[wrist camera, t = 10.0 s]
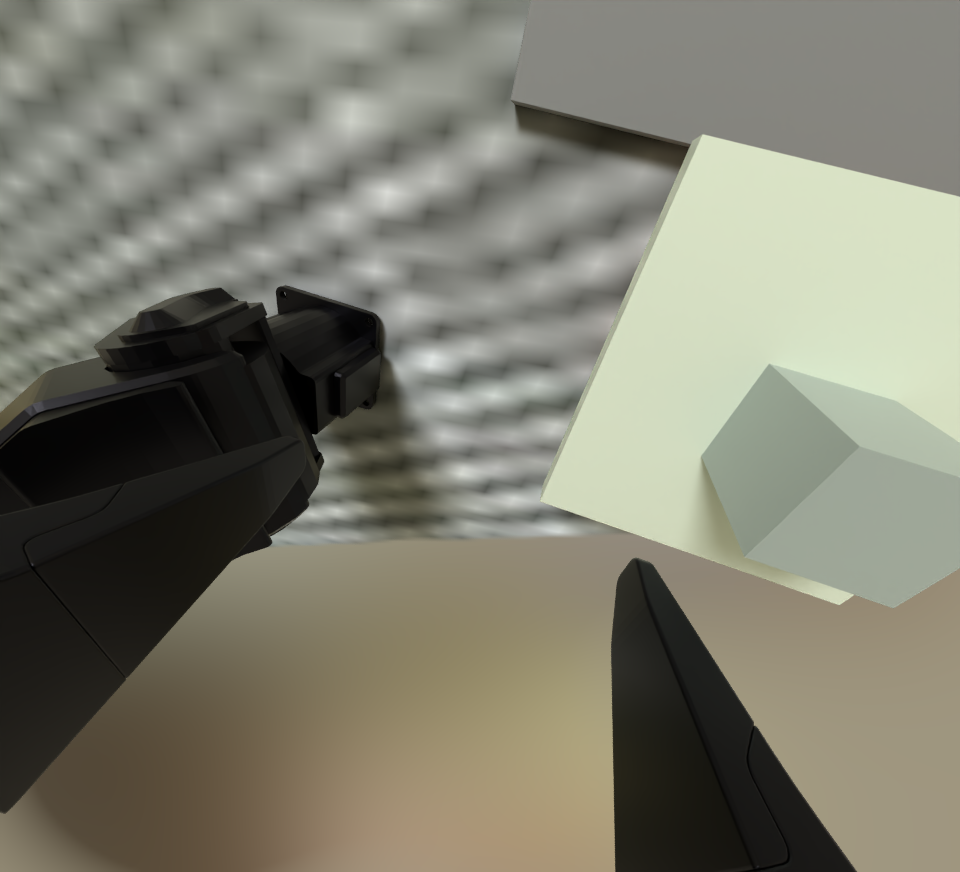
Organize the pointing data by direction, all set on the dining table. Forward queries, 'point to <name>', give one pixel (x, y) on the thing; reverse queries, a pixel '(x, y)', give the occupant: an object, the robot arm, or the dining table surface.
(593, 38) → the grey square panel
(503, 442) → the dining table surface
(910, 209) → the cover
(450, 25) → the dining table surface
